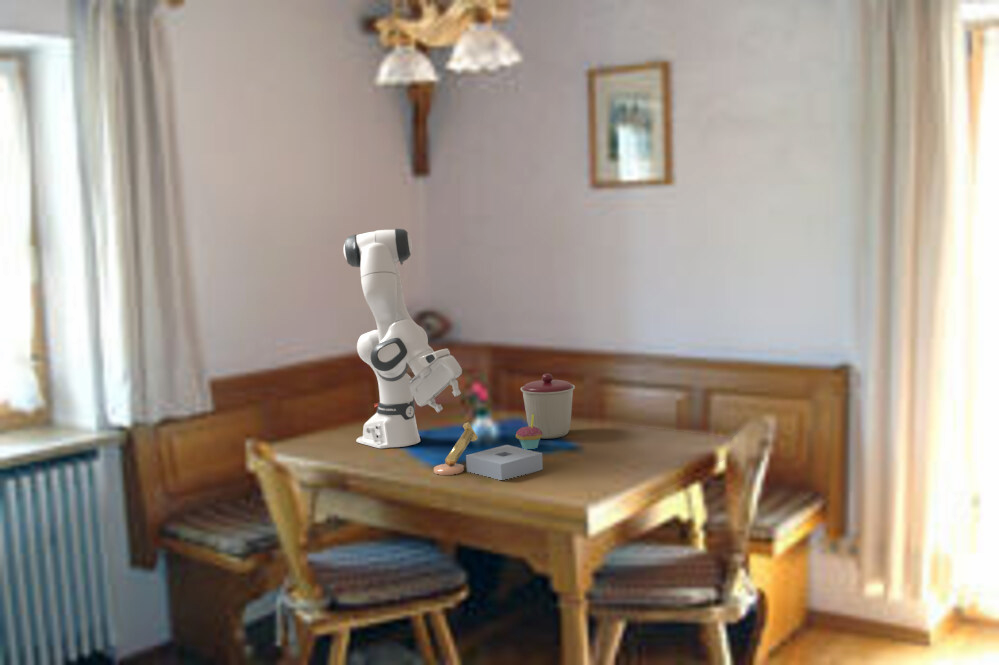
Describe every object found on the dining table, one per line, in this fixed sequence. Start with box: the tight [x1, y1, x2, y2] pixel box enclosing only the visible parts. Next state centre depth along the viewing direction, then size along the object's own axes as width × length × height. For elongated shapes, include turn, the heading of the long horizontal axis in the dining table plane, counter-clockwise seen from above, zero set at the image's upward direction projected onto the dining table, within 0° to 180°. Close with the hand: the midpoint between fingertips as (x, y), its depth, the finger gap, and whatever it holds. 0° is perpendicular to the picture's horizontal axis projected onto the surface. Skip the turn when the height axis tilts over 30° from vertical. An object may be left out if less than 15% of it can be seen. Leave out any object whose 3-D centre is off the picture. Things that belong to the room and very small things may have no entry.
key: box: [444, 422, 479, 466], centre depth 317 cm, size 3×6×17 cm
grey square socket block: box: [465, 444, 544, 481], centre depth 307 cm, size 16×16×5 cm
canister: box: [520, 373, 576, 440], centre depth 347 cm, size 18×18×21 cm
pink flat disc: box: [433, 463, 465, 476], centre depth 310 cm, size 9×9×1 cm
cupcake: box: [515, 412, 543, 450], centre depth 332 cm, size 9×8×12 cm
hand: (449, 403), depth 313 cm, fingers open, 8 cm apart
